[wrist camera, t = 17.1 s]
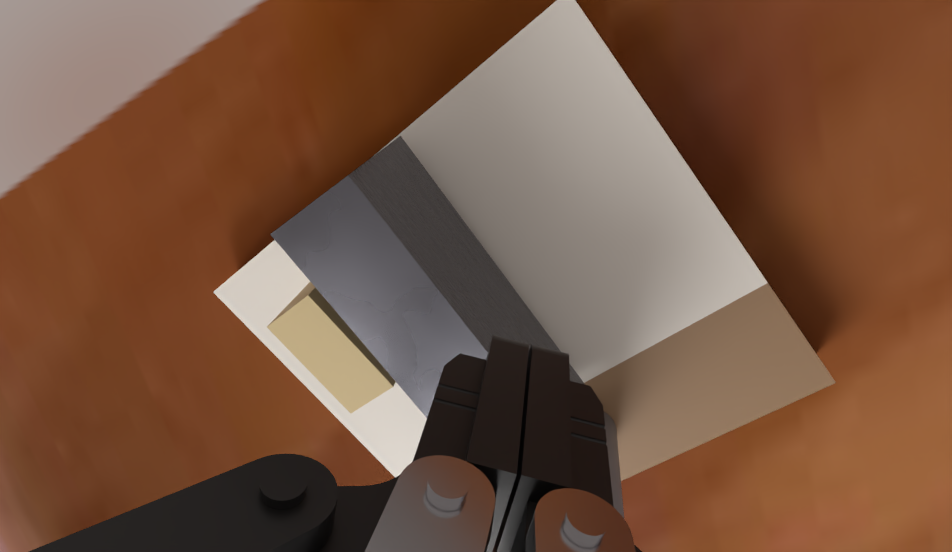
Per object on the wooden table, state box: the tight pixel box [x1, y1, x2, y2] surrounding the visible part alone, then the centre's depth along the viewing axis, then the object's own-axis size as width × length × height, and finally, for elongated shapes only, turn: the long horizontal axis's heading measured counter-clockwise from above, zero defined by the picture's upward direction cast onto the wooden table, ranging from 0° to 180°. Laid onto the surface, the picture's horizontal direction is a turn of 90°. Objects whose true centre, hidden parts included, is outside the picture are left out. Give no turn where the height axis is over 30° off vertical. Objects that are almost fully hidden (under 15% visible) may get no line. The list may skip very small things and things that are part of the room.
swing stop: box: [270, 136, 585, 418], centre depth 20 cm, size 12×3×5 cm, turn 36°
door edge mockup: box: [214, 0, 836, 518], centre depth 20 cm, size 18×17×11 cm
